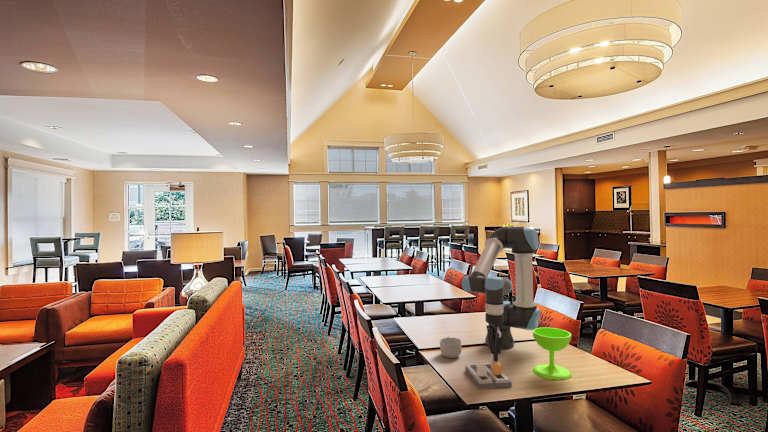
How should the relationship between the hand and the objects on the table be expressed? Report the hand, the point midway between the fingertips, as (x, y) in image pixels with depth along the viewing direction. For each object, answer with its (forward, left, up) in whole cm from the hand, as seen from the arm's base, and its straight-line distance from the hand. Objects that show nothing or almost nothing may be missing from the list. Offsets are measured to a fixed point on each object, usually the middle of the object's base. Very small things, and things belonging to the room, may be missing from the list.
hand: (494, 367), depth 168 cm
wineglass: (-28, -4, -5) cm, 29 cm away
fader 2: (0, +2, -3) cm, 3 cm away
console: (+3, -1, -5) cm, 6 cm away
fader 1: (+7, +3, -3) cm, 8 cm away
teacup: (+11, -31, -5) cm, 33 cm away
